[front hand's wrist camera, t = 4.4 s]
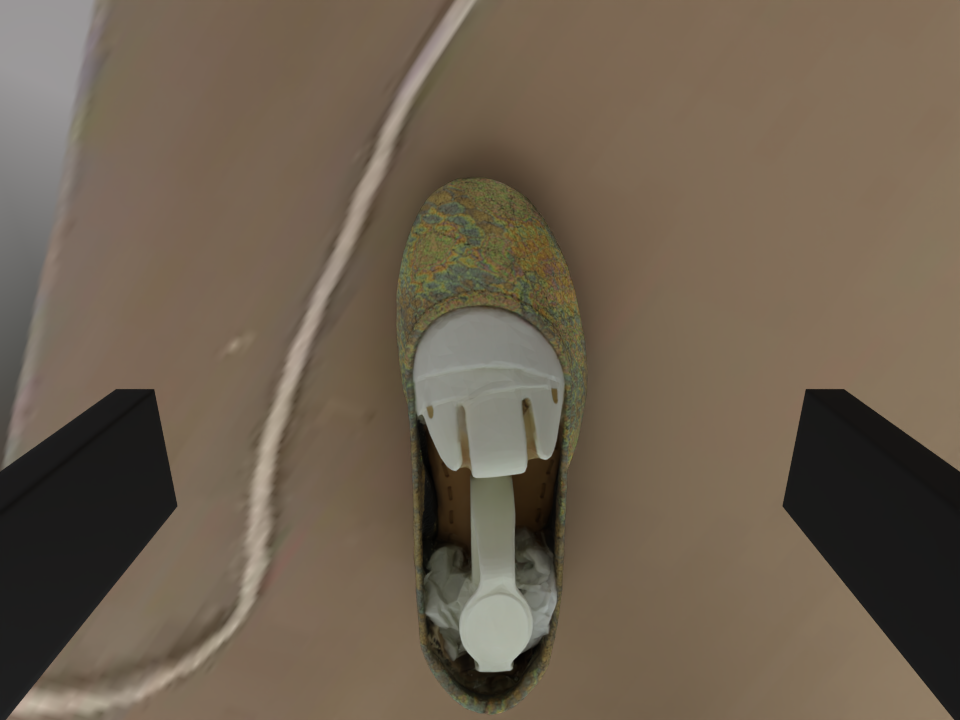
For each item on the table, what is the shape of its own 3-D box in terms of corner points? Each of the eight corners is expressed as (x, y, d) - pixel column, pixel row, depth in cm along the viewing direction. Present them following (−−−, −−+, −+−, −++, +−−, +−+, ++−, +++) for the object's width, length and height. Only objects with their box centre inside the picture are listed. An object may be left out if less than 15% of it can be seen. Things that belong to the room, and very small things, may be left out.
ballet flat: (592, 175, 26) (633, 192, 19) (564, 627, 35) (584, 762, 27) (395, 175, 26) (357, 192, 19) (415, 625, 35) (395, 760, 27)
